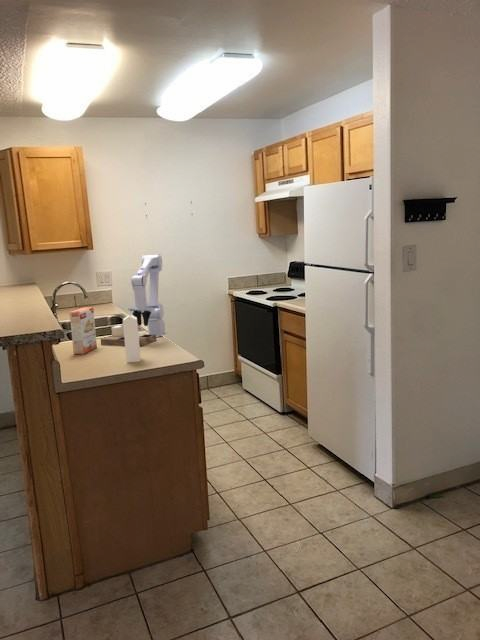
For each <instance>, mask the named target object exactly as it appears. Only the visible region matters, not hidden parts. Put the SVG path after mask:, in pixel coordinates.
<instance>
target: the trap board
mask: <svg viewBox="0 0 480 640" xmlns="http://www.w3.org/2000/svg"><path fill="white" fill-rule="evenodd" d="M138 335H139V346H140V348H141V347H143V346H147V345H148V344H151V343H153V342H155V341H157V337H156V335H152V334H149V333H146V334H145V333H138ZM100 345H101V346H113V345H115V347H125V340H124V334H123V335H121V336H112V334H111V335H109V336H107V337H104V338H100Z"/></svg>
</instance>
